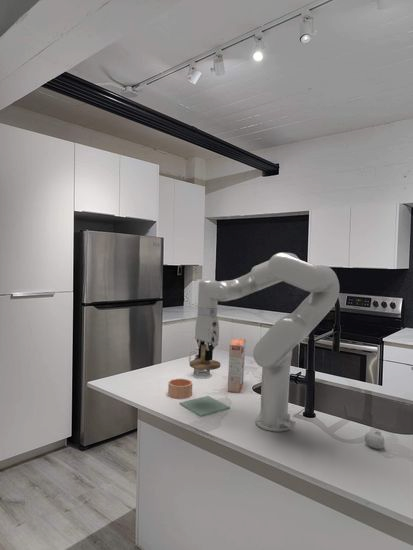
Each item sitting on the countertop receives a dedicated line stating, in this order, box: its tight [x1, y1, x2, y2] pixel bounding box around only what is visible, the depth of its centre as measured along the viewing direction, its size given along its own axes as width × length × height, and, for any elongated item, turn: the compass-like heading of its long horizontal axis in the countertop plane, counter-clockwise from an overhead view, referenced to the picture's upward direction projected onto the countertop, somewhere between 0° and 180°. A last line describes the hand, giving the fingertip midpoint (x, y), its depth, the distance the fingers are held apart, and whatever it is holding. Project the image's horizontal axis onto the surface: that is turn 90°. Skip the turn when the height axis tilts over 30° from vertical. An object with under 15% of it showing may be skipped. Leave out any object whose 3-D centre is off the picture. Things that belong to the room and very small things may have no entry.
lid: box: [188, 343, 221, 371], centre depth 149 cm, size 12×12×8 cm
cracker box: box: [227, 338, 246, 394], centre depth 172 cm, size 14×6×21 cm, turn 168°
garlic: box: [364, 430, 385, 450], centre depth 121 cm, size 6×5×5 cm
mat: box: [179, 395, 231, 417], centre depth 150 cm, size 14×14×1 cm
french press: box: [188, 345, 213, 380], centre depth 187 cm, size 10×12×25 cm
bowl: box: [167, 378, 193, 400], centre depth 162 cm, size 10×10×5 cm
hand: (205, 358), depth 149 cm, fingers closed on lid, 3 cm apart
